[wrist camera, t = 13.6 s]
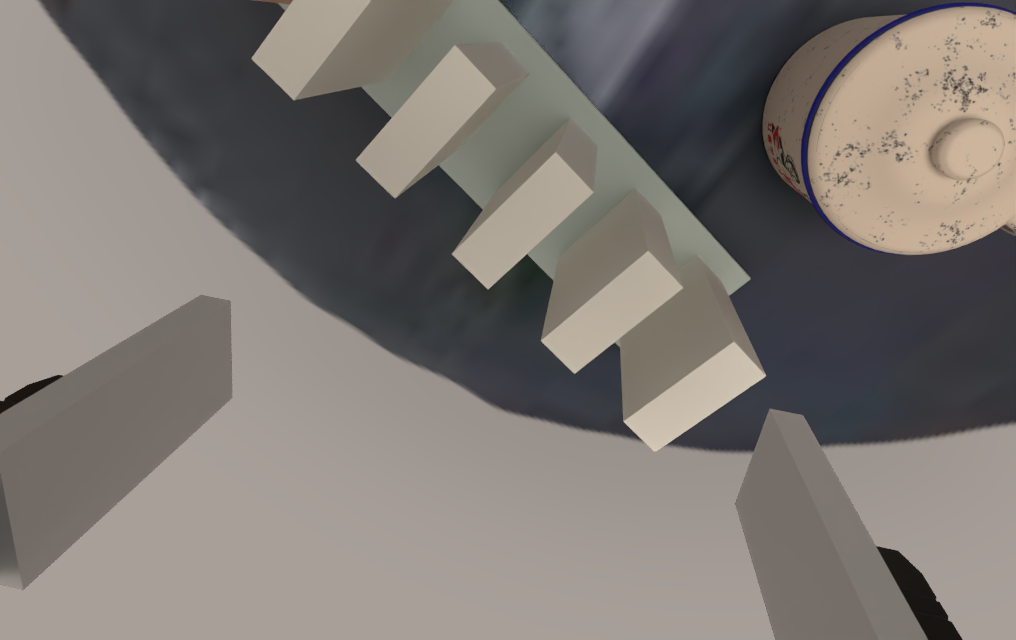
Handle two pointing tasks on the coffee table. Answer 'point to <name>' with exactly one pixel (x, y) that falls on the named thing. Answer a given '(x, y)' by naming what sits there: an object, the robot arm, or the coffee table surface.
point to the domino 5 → (609, 282)
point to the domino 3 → (442, 114)
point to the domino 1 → (277, 1)
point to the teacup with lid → (903, 127)
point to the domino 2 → (343, 42)
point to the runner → (546, 138)
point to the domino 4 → (530, 204)
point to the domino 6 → (685, 359)
